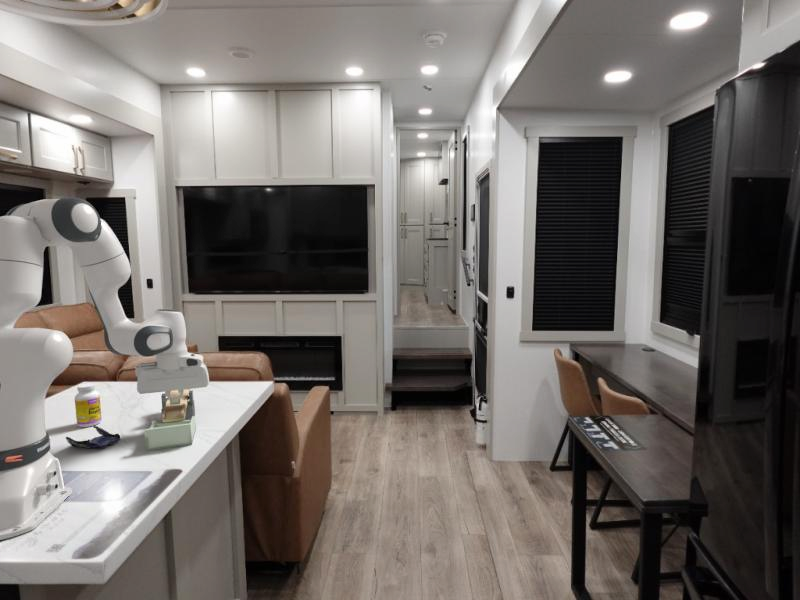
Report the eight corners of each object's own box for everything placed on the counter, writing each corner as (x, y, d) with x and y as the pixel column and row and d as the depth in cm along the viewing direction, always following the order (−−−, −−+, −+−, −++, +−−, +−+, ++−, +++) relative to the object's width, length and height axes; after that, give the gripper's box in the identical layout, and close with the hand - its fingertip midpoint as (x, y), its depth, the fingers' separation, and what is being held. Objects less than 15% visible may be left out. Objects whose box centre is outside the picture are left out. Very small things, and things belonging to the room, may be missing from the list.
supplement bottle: (89, 428, 144) (85, 388, 143) (72, 427, 146) (67, 387, 144) (107, 420, 151) (103, 382, 150) (90, 419, 152) (86, 381, 151)
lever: (186, 425, 141) (184, 412, 139) (162, 428, 139) (160, 415, 137) (192, 386, 162) (191, 374, 161) (171, 388, 160) (170, 376, 159)
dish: (191, 444, 131) (190, 424, 130) (146, 451, 127) (144, 430, 127) (195, 428, 143) (194, 409, 142) (154, 433, 139) (152, 414, 139)
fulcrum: (193, 421, 149) (191, 394, 148) (162, 425, 146) (160, 397, 145) (195, 414, 155) (193, 388, 154) (165, 418, 152) (163, 392, 151)
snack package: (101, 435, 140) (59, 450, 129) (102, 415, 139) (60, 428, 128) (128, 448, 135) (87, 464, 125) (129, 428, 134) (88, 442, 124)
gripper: (132, 366, 137) (136, 411, 138) (206, 359, 143) (209, 402, 145) (136, 361, 143) (140, 404, 144) (208, 355, 149) (210, 396, 151)
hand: (175, 403), depth 145 cm, fingers closed
